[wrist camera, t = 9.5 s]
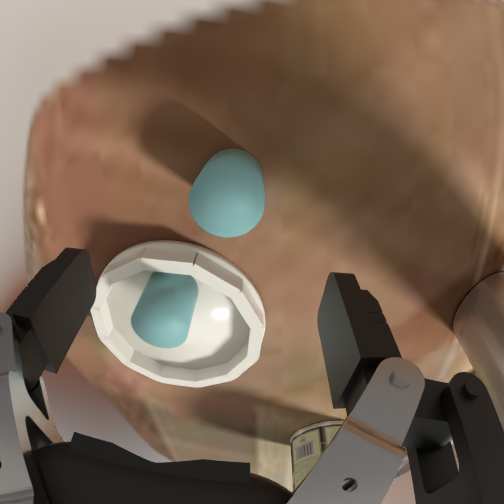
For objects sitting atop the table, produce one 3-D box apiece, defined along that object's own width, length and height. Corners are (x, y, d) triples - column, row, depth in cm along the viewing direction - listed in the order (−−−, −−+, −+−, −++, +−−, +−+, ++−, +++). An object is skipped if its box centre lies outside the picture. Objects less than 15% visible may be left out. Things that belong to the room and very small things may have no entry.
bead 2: (266, 151, 19) (268, 170, 15) (260, 208, 21) (260, 240, 17) (203, 146, 19) (189, 164, 15) (201, 203, 21) (188, 234, 17)
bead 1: (198, 268, 23) (186, 309, 19) (198, 310, 25) (189, 351, 21) (146, 263, 23) (126, 301, 19) (151, 304, 25) (135, 343, 21)
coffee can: (341, 449, 41) (351, 525, 29) (280, 448, 40) (282, 531, 28) (374, 419, 36) (392, 509, 24) (305, 417, 35) (313, 519, 23)
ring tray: (276, 249, 23) (278, 267, 21) (255, 376, 30) (255, 394, 28) (85, 232, 22) (71, 246, 20) (115, 358, 30) (109, 374, 28)
